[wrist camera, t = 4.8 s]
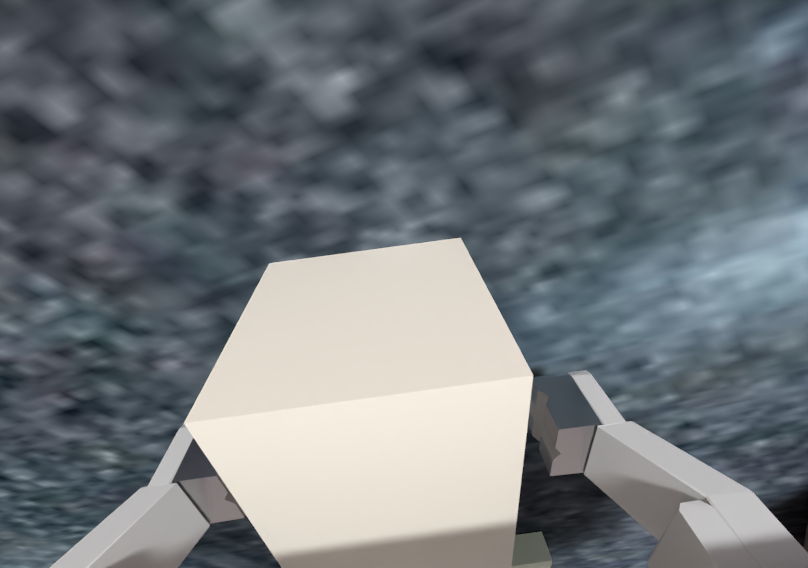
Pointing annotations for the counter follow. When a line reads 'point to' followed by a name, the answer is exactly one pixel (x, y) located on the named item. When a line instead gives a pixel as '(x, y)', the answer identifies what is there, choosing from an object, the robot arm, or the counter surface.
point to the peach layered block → (531, 551)
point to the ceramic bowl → (806, 540)
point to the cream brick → (372, 412)
